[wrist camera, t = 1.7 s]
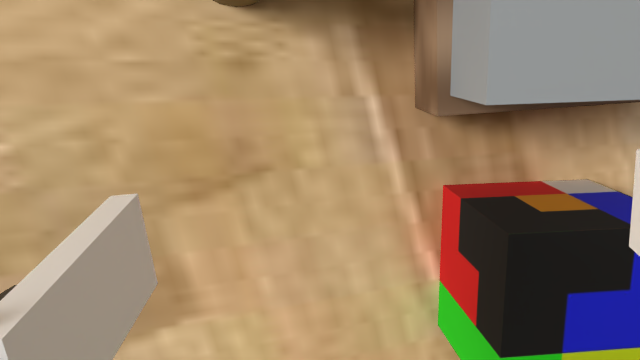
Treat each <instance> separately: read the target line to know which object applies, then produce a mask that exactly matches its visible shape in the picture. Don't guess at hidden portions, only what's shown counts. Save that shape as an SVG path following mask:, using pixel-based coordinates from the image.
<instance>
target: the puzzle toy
mask: <svg viewBox="0 0 640 360" xmlns="http://www.w3.org/2000/svg"><path fill="white" fill-rule="evenodd" d="M632 201H633V197H630V196H628V195H625V194H623V193H621V192H618V191H616V190H613V189H611V188H608V187H606V186H603V185H601V184H598V183H596V182H593V181H591V180H589V179H584V180H560V181H535V182H511V183H486V184H462V185H443V209H442V235H441V261H440V287H439V313H438V326H439V327H440V329H441V330H442V332H443V333H444V335H445V336H446V338H447V340H448V341H449V343H450V344H451V346H452V347H453V349H454V350H455V352H456V353H457V355H458V356H459V358H460V359H461V360H640V256H639V255H638V254H637V253H636V252H635V251H633V250H632V249H631V248H630V247H629V238H630V226H631V213H632Z"/></svg>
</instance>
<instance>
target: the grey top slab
mask: <svg viewBox="0 0 640 360" xmlns="http://www.w3.org/2000/svg"><path fill="white" fill-rule="evenodd" d="M450 96H454V97H457V98H461V99H465V100H469V101H472V102H476V103H480V104H484V105H506V104H534V103H561V102H589V101H617V100H640V0H453V25H452V58H451V90H450Z"/></svg>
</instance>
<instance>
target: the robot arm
mask: <svg viewBox="0 0 640 360" xmlns="http://www.w3.org/2000/svg"><path fill="white" fill-rule="evenodd" d="M629 247H630V248H631V249H632V250H633V251H635V252H636V253H637V254H638V255H639V256H640V149H637V151H636V163H635V176H634V188H633V201H632V213H631V226H630V238H629ZM157 284H158V282H157V278H156V273H155V269H154V264H153V260H152V255H151V251H150V246H149V242H148V237H147V233H146V228H145V224H144V219H143V215H142V211H141V206H140V202H139V197H138V194H128V195H117V196H110V197H109V198H108V199H107V200H106V201H105V202H104V203H102V204H101V205H100V206H99V207H98V208H97V209H96V210H95V211H94V212H93V213H92V214H91V215H90V216H89V217H88V218H87V219H86V220H85V221H84V222H83V223H81V224H80V225H79V226H78V227H77V228H76V229H75V230H74V231H73V232H72V233H71V234H70V235H69V236H68V237H67V238H66V239H65V240H64V241H63V242H62V243H60V244H59V245H58V246H57V247H56V248H55V249H54V250H53V251H52V252H51V253H50V254H49V255H48V256H47V257H46V258H45V259H44V260H43V261H42V262H41V263H39V264H38V265H37V266H36V267H35V268H34V269H33V270H32V271H31V272H30V273H29V274H28V275H27V276H26V277H25V278H24V279H23V280H22V281H21V282H20V283H18V284H17V285H14V286H13V287H11V288H9V289H8V290H6V291H4V292H2V293H1V294H0V360H113V358H114V356H115V355H116V353H117V351H118V349H119V348H120V346H121V344H122V343H123V341H124V339H125V338H126V336H127V334H128V333H129V331H130V329H131V328H132V326H133V324H134V322H135V321H136V319H137V317H138V316H139V314H140V312H141V311H142V309H143V307H144V306H145V304H146V302H147V301H148V299H149V297H150V296H151V294H152V292H153V290H154V289H155V287H156V285H157Z"/></svg>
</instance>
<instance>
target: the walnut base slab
mask: <svg viewBox="0 0 640 360" xmlns="http://www.w3.org/2000/svg"><path fill="white" fill-rule="evenodd" d="M452 25H453V0H414V58H415V107H416V108H418V109H421V110H423V111H426V112H428V113H431V114H433V115H436V116H447V115H461V114H476V113H490V112H504V111H518V110H532V109H546V108H561V107H575V106H589V105H603V104H617V103H632V102H640V100H617V101H589V102H561V103H534V104H506V105H484V104H480V103H476V102H472V101H469V100H465V99H461V98H457V97H454V96H450V90H451V58H452Z"/></svg>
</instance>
